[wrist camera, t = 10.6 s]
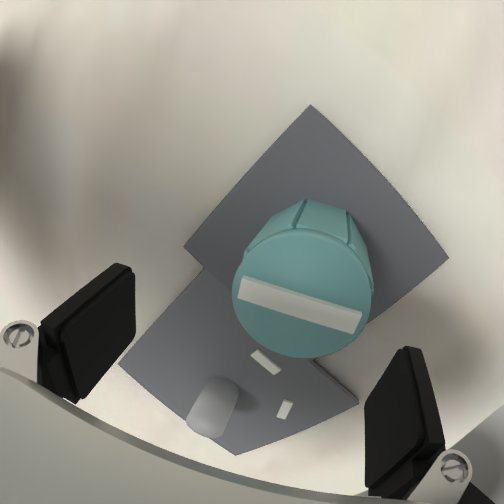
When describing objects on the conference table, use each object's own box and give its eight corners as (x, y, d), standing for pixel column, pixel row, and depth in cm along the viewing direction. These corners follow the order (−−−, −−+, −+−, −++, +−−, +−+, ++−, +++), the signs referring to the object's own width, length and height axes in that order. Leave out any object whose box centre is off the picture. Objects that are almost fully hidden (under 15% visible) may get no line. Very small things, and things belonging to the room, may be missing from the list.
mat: (186, 244, 21) (183, 246, 21) (311, 105, 16) (310, 104, 15) (310, 358, 22) (309, 362, 22) (446, 255, 17) (448, 258, 16)
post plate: (120, 360, 28) (92, 391, 24) (207, 264, 21) (174, 300, 17) (236, 452, 29) (222, 486, 25) (358, 399, 22) (356, 447, 18)
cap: (254, 279, 20) (219, 337, 15) (276, 189, 18) (244, 219, 12) (343, 307, 19) (340, 376, 14) (377, 220, 17) (394, 265, 11)
